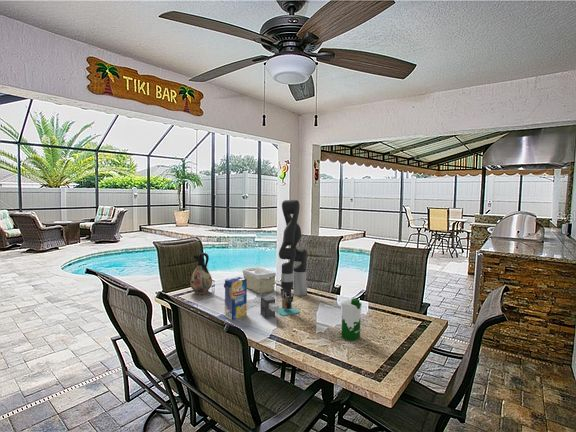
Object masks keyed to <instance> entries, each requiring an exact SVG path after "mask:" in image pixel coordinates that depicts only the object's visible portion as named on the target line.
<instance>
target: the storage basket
mask: <svg viewBox="0 0 576 432" xmlns="http://www.w3.org/2000/svg"><path fill="white" fill-rule="evenodd" d="M253 271H254V272H253ZM242 274H243V278H246V279H247V289H248V290H250V291H253V292H255V293H257V294H264V293H269V292H273V291H275V285H276V284H275V283H276V276H277V274H276V272H275V271H274V270H271V269H267V268H266V267H261V266H252V267H247V268H243V269H242Z"/></svg>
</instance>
